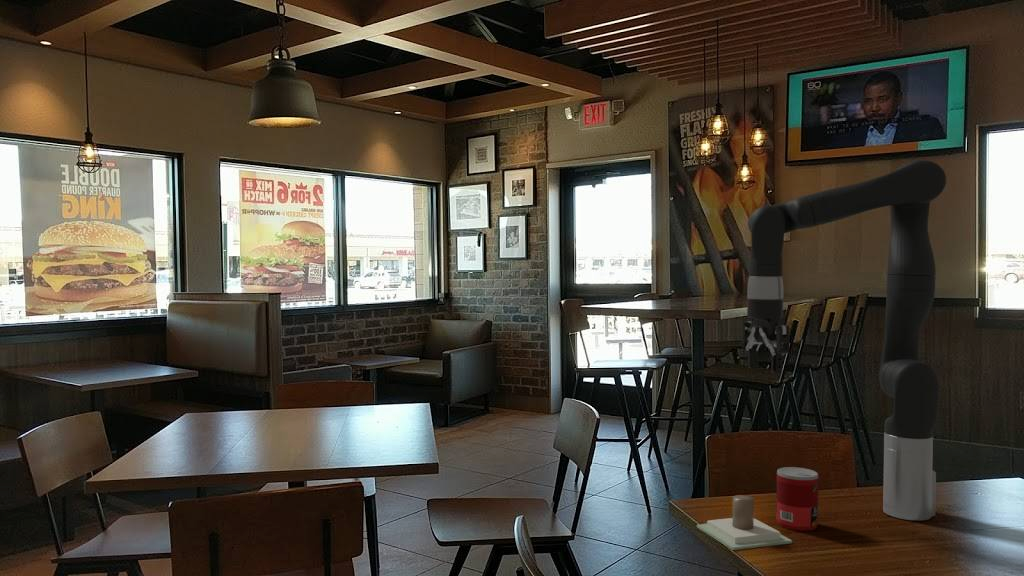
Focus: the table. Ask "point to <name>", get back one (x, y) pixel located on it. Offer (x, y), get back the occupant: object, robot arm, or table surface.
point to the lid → (743, 524)
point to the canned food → (797, 498)
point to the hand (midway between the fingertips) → (764, 370)
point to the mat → (743, 545)
